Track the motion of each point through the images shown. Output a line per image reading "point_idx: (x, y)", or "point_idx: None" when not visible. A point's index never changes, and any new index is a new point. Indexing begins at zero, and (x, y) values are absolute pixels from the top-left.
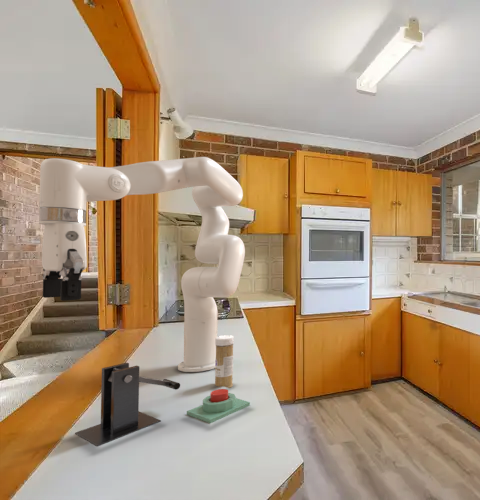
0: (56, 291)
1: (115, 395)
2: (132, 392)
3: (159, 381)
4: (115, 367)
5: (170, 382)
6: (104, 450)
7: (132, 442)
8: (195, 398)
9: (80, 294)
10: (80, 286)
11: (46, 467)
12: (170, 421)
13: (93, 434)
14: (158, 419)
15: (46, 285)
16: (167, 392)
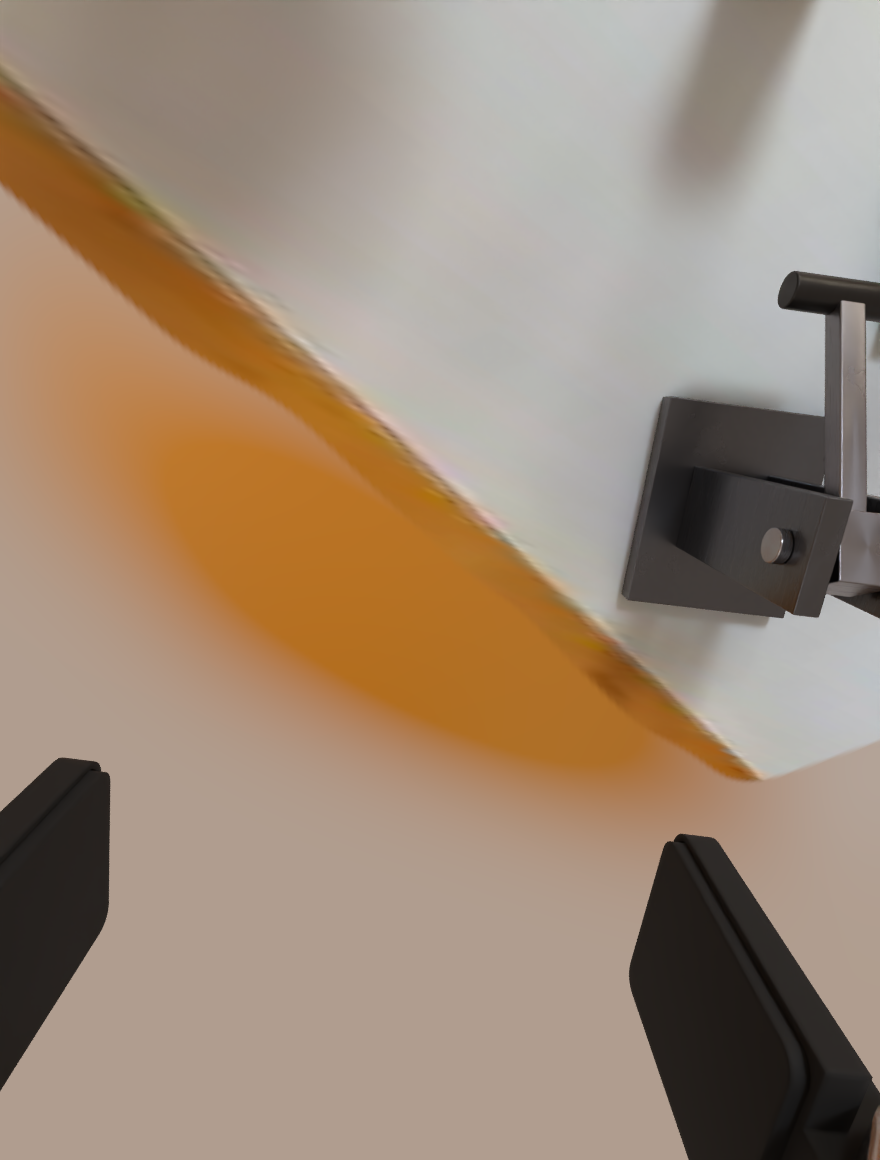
0: (73, 869)
1: None
2: None
3: (860, 365)
4: (829, 565)
5: (866, 308)
6: None
7: None
8: (754, 138)
9: (731, 875)
10: (794, 975)
11: (713, 705)
12: None
13: (701, 584)
14: (824, 417)
15: (10, 1059)
16: (549, 137)
